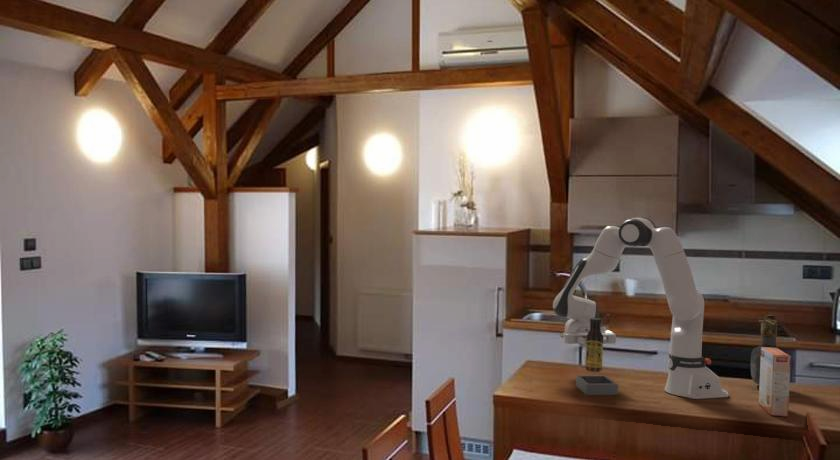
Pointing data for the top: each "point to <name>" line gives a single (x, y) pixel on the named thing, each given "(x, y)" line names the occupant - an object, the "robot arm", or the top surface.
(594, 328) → the sauce bottle
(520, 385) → the top surface
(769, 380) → the cracker box
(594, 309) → the robot arm
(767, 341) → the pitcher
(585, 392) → the bottle collar
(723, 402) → the top surface
